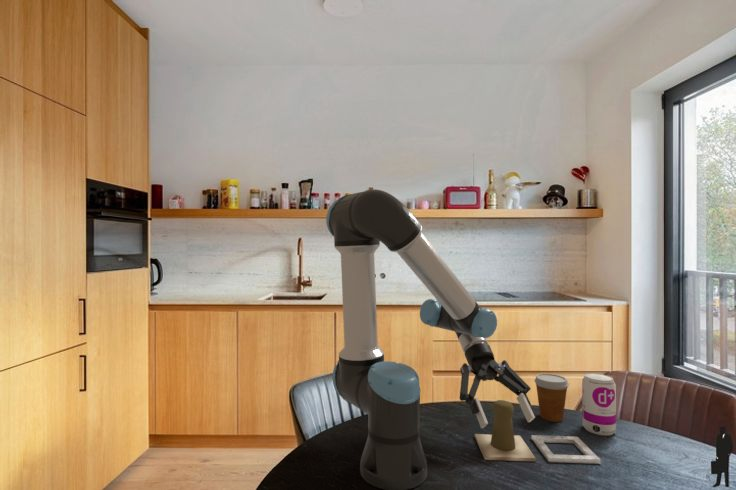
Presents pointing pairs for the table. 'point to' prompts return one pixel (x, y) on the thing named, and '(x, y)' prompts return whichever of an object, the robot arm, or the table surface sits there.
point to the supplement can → (599, 404)
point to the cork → (503, 426)
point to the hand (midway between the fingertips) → (508, 423)
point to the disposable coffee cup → (551, 396)
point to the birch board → (492, 453)
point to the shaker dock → (586, 458)
